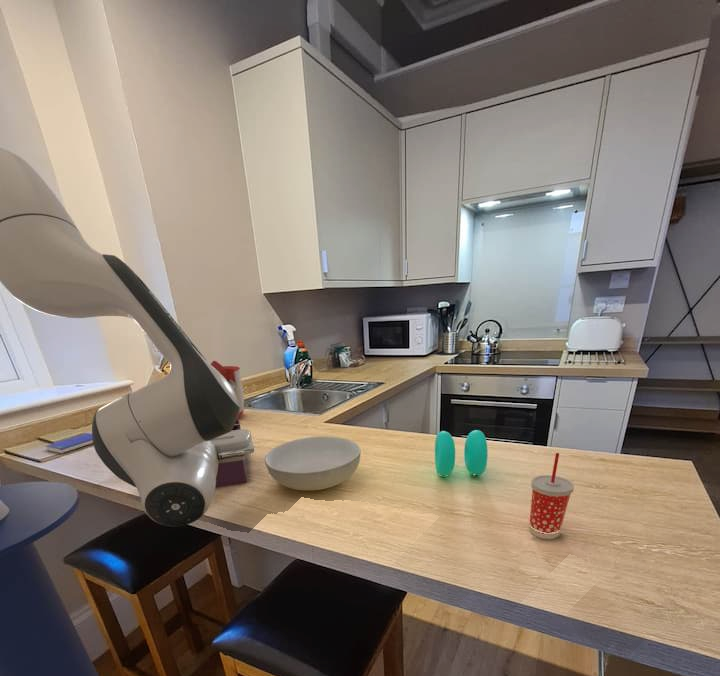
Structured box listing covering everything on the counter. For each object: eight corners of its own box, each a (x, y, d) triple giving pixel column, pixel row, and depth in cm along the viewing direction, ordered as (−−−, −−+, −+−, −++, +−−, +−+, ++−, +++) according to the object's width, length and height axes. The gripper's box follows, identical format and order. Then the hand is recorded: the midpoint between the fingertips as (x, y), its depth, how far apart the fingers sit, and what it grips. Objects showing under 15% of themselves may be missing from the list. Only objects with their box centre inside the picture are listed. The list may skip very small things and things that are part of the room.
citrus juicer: (216, 429, 129) (202, 366, 120) (195, 419, 140) (182, 362, 132) (258, 418, 138) (248, 359, 129) (236, 410, 150) (225, 355, 141)
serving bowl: (265, 471, 95) (260, 444, 92) (347, 457, 100) (346, 431, 97) (274, 510, 77) (269, 478, 74) (375, 491, 82) (373, 460, 79)
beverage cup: (537, 518, 69) (549, 443, 63) (571, 532, 65) (588, 453, 59) (516, 530, 66) (527, 453, 60) (551, 546, 62) (566, 464, 56)
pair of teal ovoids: (486, 483, 82) (490, 439, 78) (438, 484, 83) (440, 440, 79) (476, 465, 91) (480, 423, 87) (433, 466, 92) (434, 425, 88)
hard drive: (60, 448, 114) (102, 435, 124) (45, 445, 117) (86, 432, 127) (62, 453, 114) (103, 440, 124) (47, 450, 118) (88, 437, 128)
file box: (247, 482, 90) (239, 446, 86) (183, 492, 86) (173, 455, 83) (245, 455, 105) (239, 424, 101) (192, 463, 102) (184, 431, 98)
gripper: (252, 435, 64) (250, 413, 77) (115, 452, 60) (136, 427, 72) (258, 470, 67) (255, 444, 79) (127, 489, 63) (146, 458, 75)
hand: (197, 436), depth 76 cm, fingers closed
